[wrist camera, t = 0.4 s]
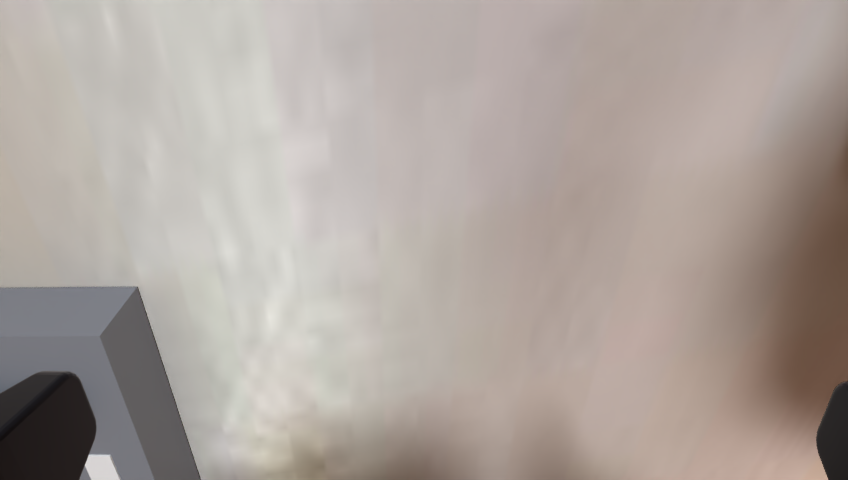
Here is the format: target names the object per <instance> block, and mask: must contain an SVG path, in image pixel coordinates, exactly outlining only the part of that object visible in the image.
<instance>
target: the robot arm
mask: <svg viewBox="0 0 848 480" xmlns="http://www.w3.org/2000/svg"><path fill="white" fill-rule="evenodd" d="M96 429H97V425H96V419H95V415H94V413H93V410H92V408H91V405H90V403H89V400H88V397H87V395H86V392H85V390H84V387H83V385H82V382H81V380H80V378H79V377H78V376H77V375H76V374H75V373H73V372H70V371H41V372H37V373H35V374H33V375H31V376H29V377H28V378H26V379H24V380H22V381H21V382H19V383H17V384H15V385H14V386H12V387H10V388H9V389H7V390H5V391H3V392H2V393H0V480H79V479H80V477H81V474H82V471H83V469H84V466H85V464H86V461H87V458H88V456H89V453H90V451H91V448H92V445H93V443H94V440H95V436H96ZM816 442H817V449H818V453H819V456H820V459H821V461H822V464H823V467H824V469H825V472H826V474H827V477H828V480H848V381H847V382H843V383H840V384H839V385H838V386H837V387H836V388H835V389H834V391H833V394H832V396H831V398H830V401H829V403H828V406H827V408H826V411H825V413H824V416H823V418H822V421H821V423H820V426H819V428H818V431H817V437H816Z"/></svg>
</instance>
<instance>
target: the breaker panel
mask: <svg viewBox="0 0 848 480" xmlns="http://www.w3.org/2000/svg"><path fill="white" fill-rule="evenodd" d="M41 371H70V372H73V373H75V374H76V375H77V376H78V377H79V378H80V380H81V382H82V385H83V387H84V390H85V392H86V395H87V397H88V400H89V403H90V405H91V408H92V410H93V413H94V415H95V419H96V425H97V429H96V436H95V440H94V443H93V445H92V448H91V451H90V453H89V456H88V458H87V461H86V464H85V466H84V469H83V471H82V474H81V477H80V479H79V480H200V477H199V474H198V471H197V468H196V465H195V462H194V459H193V456H192V452H191V449H190V446H189V443H188V440H187V437H186V434H185V431H184V428H183V425H182V422H181V419H180V416H179V413H178V410H177V407H176V404H175V401H174V398H173V394H172V391H171V388H170V385H169V382H168V379H167V376H166V373H165V370H164V367H163V364H162V361H161V358H160V355H159V352H158V349H157V346H156V343H155V340H154V337H153V333H152V330H151V327H150V324H149V321H148V318H147V315H146V312H145V309H144V306H143V303H142V300H141V297H140V294H139V291H138V288H137V287H58V288H0V393H2V392H3V391H5V390H7V389H9V388H10V387H12V386H14V385H15V384H17V383H19V382H21V381H22V380H24V379H26V378H28V377H29V376H31V375H33V374H35V373H37V372H41Z"/></svg>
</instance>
